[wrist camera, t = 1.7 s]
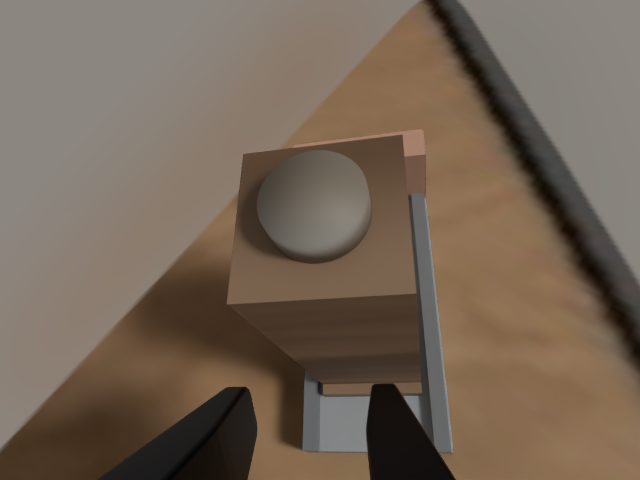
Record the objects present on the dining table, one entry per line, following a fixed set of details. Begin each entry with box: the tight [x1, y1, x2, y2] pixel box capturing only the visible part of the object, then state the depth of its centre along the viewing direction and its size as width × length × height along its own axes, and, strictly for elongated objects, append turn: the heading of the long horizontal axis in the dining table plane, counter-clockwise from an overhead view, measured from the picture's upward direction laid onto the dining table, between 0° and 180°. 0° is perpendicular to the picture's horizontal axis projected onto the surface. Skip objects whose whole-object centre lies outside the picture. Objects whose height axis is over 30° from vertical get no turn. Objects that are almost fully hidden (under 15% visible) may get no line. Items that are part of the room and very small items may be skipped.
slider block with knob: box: [227, 134, 422, 397], centre depth 15 cm, size 5×4×12 cm
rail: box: [293, 129, 453, 453], centre depth 20 cm, size 13×6×5 cm, turn 179°
